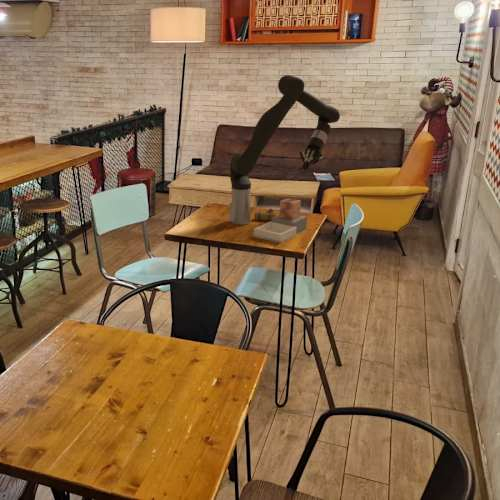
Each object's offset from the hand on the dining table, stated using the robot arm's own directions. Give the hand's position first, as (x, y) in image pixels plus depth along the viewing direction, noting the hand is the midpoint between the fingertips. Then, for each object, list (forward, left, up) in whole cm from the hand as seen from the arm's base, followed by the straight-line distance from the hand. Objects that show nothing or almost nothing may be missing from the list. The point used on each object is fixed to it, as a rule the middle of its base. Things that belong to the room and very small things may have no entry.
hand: (304, 169), depth 231 cm
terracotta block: (+2, -17, -20) cm, 26 cm away
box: (+2, -30, -26) cm, 40 cm away
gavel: (-17, -4, -26) cm, 32 cm away
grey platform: (+2, -17, -26) cm, 31 cm away
